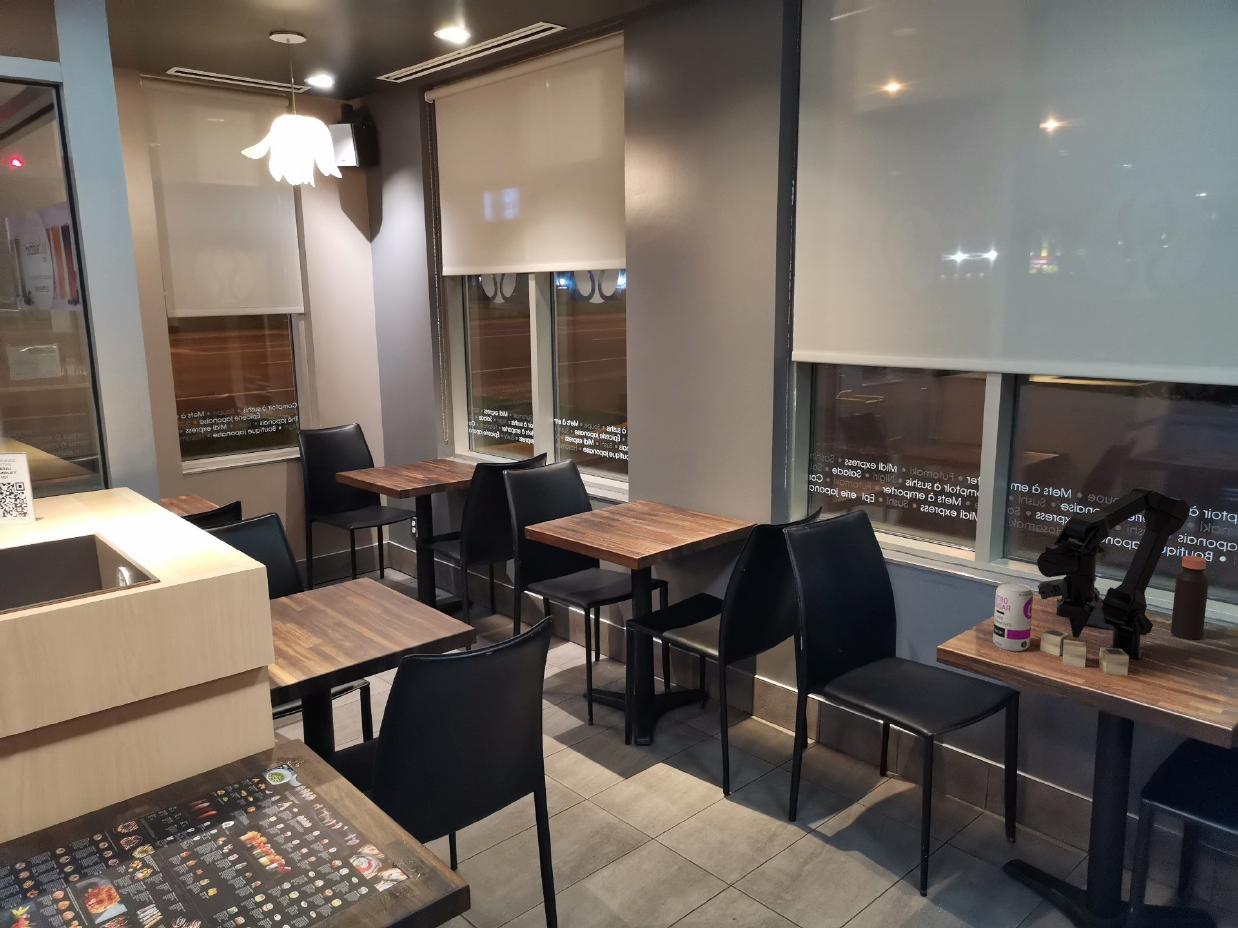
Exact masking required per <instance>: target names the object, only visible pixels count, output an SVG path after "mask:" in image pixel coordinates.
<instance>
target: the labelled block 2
mask: <svg viewBox="0 0 1238 928" xmlns="http://www.w3.org/2000/svg"><path fill="white" fill-rule="evenodd" d="M1098 658H1099V659H1098V667H1099V668H1100V670H1101V671H1102V672H1103V673H1104V674H1105V675H1119V676H1120V675H1121V676H1128V671H1129V659H1130V658H1129V656H1128V655H1127V654H1126V653H1125V652H1124V651H1123V650H1122V649H1114V648H1110V647H1100V648H1099V656H1098Z"/></svg>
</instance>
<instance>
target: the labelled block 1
mask: <svg viewBox="0 0 1238 928" xmlns="http://www.w3.org/2000/svg"><path fill="white" fill-rule="evenodd" d="M1040 634H1041V636H1040V649H1039V651H1040V652H1043V653H1047V654H1051V655H1054V656H1057V657H1060V656H1063V645H1064V640H1070V633H1067V632H1063V631H1060V630H1055V629H1052V628H1049V629H1047V630H1045V631H1043V632H1041V633H1040Z"/></svg>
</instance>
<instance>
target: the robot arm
mask: <svg viewBox="0 0 1238 928" xmlns="http://www.w3.org/2000/svg"><path fill="white" fill-rule="evenodd" d="M1143 511H1144V513H1143V522H1144V526H1145V530H1144V532H1143V535H1142V536H1141V539H1140V542H1139V543H1138V545H1137V548H1136V551H1135V552H1134V555H1133V557H1132V559H1131V562H1130V564H1129V566H1128V567H1127V571H1126V572H1125V575H1124V577H1123V580H1122V582H1121V583H1120V584H1119V585H1118V586H1116V587H1115V588H1114V587H1111V586H1110V587H1109V588H1108V589H1107V591H1106V594H1105V595H1104V596H1105V597H1104V598H1103V601H1102V603H1103V605H1102V611H1103V616H1104V620H1105V624H1109V625H1111V626H1114V627H1113V630H1112V639H1111V641H1112V642H1111V644H1110V646H1109V648H1114V649H1122V650H1123V651H1124V652H1125V653H1126V654H1127V655H1128V656H1129V659H1134V660H1140V659H1141V656H1142V653H1143V649H1141V647H1140V646H1141V639H1142V636H1147V634H1150V633H1151V632H1152V629H1153V627H1154V624H1153V623H1152V621H1151V620H1150V619H1149V618H1148V617H1147V615H1146V610H1147V607H1148V604H1147V600H1146V595H1145V592H1146V590H1147V588H1148V585H1149V584H1150V581H1151V579H1152V576H1153V574H1154V572H1155V569H1156V567H1157V566H1158V563H1159V560H1160V558H1161V557H1162V554H1163V551H1164V550H1165V548H1166V545H1167V542H1168V540H1169V538H1170V537H1171V536H1173V535H1174V534H1176V533H1177V532H1179V531H1180V530H1181V529H1182V528H1183V526H1184V525H1185V523H1186V521H1187V520H1188V517H1189V516H1190V512H1191V509H1190V507H1189V504H1188V502H1187V501H1186V500H1185V499H1182V498H1181V499H1180V498H1176V497H1172V496H1166V495H1165V494H1161V493H1160V492H1158V491H1156V490H1155V489H1149V488H1144V487H1141V486H1140V487H1139V486H1138V487H1133V489H1131V491H1129V493H1127V494H1125V495H1123V496H1121V497H1120V498H1117V499H1116V500H1114V501H1113V502H1111V503H1109V504H1107V505H1106V506H1103V507H1102V508H1100V509H1098V510H1096V511H1090V512H1083V513H1080V514H1077V515H1074V516H1072V517H1070V518H1069V519H1068V520H1067V521H1066V524H1065V525H1064V527H1063V528H1062V529H1061V532H1060V533H1059V535H1058V536H1057V537H1056V539H1055V541H1054V543H1053V545H1054V546H1052V545H1050V546H1048V545H1047V546H1046V547H1045V551H1044V552H1043V551H1042V553H1040V554H1039V556H1038V558H1037V559H1036V561H1037V562H1036V564H1037V568H1038V571H1039V572H1040V574H1042V576H1044V577H1045V578H1053V577H1054V578H1055V577H1061V576H1064V577H1063V578H1057V579H1052V580H1045V581H1044V580H1043V581H1042V582H1040V583H1039V584H1038V585H1037V588H1038V591H1037V594H1038V595H1040V598H1041V600H1048V599H1050V598H1058V597H1061V599H1066V600H1064V601H1062V602H1061V603H1059V604H1058V605H1057V606H1056V616H1058V617H1061V618H1067V619H1068V618H1069V619H1068V620H1069V623H1070V628H1071V634H1072V637H1073V638H1074V639H1075V638H1076V639H1078V638H1079V637H1080V636H1081V634H1082V632H1083V630H1084V628H1085V626H1087V625H1086V623H1087V621H1088V619H1089V618H1090V616H1091V614H1092V612H1093V610H1094V609H1095V607H1094V606H1089V604H1088V603H1092V601H1093V599H1094V598H1095V599H1094V600H1095V602H1098V600H1099V597H1100V592H1101V591H1100V590H1099V589H1098V588H1097V587H1096V586H1095V583H1096V581H1097V575H1096V571H1097V570H1096V568H1097V557H1098V554H1103V553H1105V551H1106V550H1105V548H1103V547H1102V546H1101V545H1100V544H1101V543H1102V542H1104V541H1105V540H1106V539H1107V538H1109V537H1110V533H1111V530H1113V528H1115V527H1117V526H1119V525H1120V524H1123V523H1124V522H1126V521H1127V520H1130V519H1132V518H1133V517H1135V516H1136V515H1138V514H1140V513H1142V512H1143ZM1067 599H1069V601H1067Z"/></svg>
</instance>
